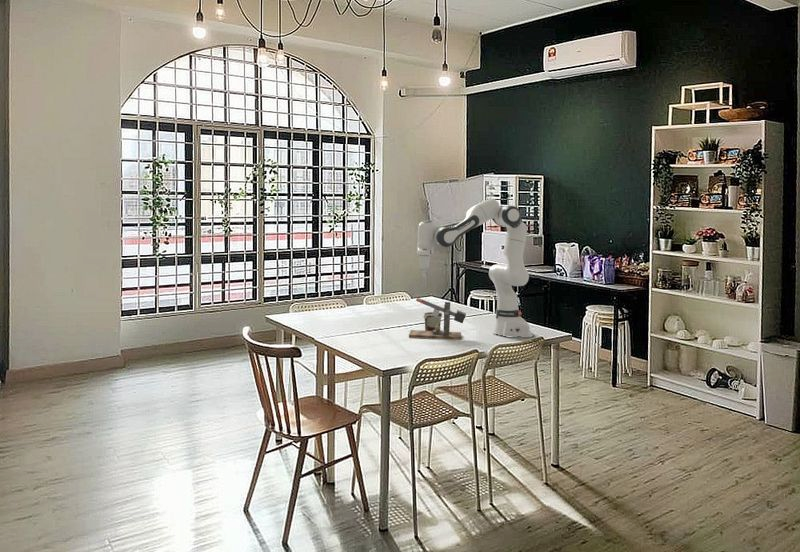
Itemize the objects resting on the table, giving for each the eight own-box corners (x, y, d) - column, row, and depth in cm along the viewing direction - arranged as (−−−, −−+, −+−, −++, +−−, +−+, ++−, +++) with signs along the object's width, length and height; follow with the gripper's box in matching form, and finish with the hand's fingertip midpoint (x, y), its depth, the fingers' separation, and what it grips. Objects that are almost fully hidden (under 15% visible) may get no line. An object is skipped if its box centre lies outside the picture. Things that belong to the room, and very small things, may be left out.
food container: (434, 328, 402) (434, 311, 400) (441, 330, 397) (442, 312, 396) (418, 330, 394) (418, 313, 392) (425, 332, 389) (426, 315, 388)
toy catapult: (461, 334, 386) (462, 302, 383) (460, 339, 374) (462, 306, 371) (410, 332, 388) (411, 300, 386) (409, 337, 377) (409, 303, 374)
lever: (460, 325, 381) (465, 313, 380) (460, 327, 377) (465, 315, 375) (413, 306, 383) (418, 294, 381) (412, 308, 378) (417, 295, 377)
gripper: (420, 248, 386) (419, 273, 388) (418, 252, 366) (417, 278, 368) (432, 248, 385) (431, 273, 387) (429, 252, 365) (429, 278, 367)
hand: (424, 275), depth 377 cm, fingers open, 4 cm apart
